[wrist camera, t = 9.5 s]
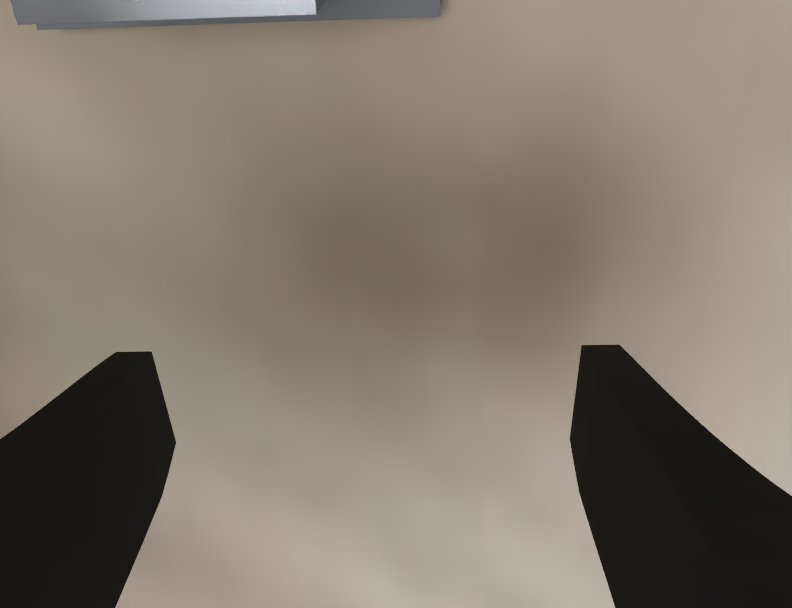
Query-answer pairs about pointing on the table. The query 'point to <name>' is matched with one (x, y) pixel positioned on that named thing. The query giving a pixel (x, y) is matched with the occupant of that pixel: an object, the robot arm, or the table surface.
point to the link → (153, 9)
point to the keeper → (339, 5)
